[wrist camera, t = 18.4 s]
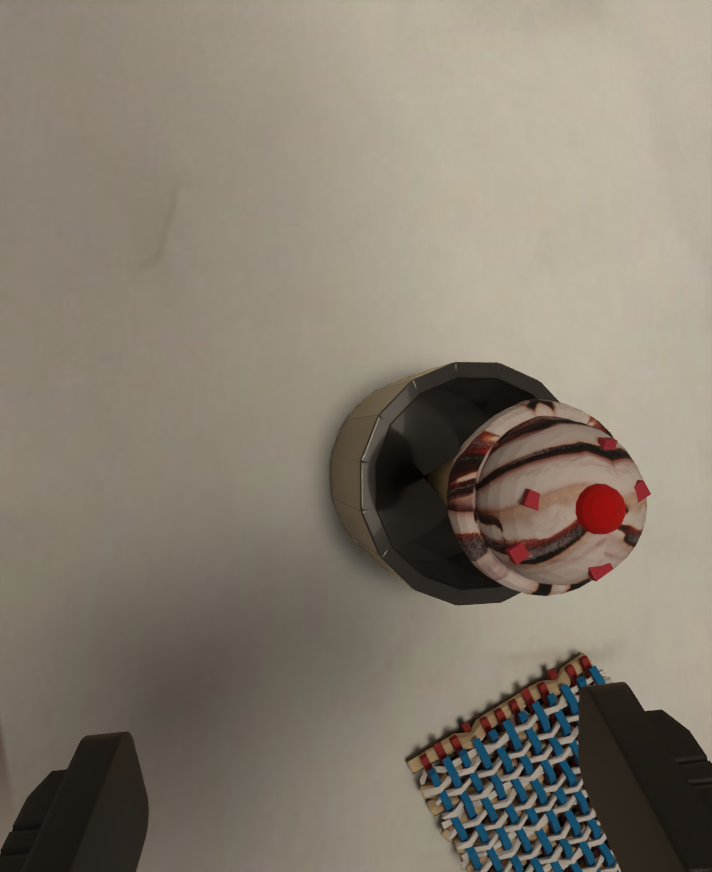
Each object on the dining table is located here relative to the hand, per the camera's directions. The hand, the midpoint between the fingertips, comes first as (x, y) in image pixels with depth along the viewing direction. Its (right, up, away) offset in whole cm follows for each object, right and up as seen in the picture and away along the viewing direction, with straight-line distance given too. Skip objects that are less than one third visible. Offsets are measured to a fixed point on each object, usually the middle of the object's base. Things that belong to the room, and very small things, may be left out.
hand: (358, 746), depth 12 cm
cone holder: (+3, +4, +19) cm, 20 cm away
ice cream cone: (+3, +4, +19) cm, 20 cm away
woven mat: (+9, -12, +21) cm, 25 cm away
